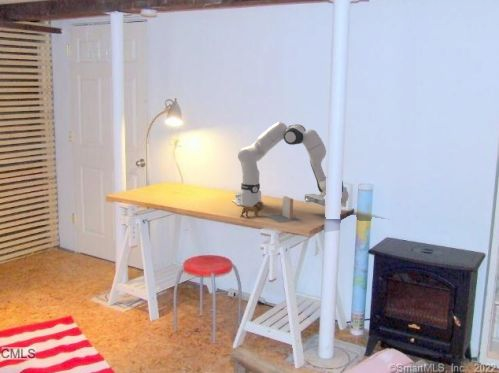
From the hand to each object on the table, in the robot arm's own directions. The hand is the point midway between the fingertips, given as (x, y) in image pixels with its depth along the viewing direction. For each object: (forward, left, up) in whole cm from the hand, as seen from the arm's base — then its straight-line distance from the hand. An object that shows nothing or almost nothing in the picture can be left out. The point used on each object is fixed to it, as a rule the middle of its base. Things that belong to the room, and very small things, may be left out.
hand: (306, 200), depth 331 cm
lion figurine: (-14, -30, -10) cm, 35 cm away
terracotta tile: (0, -13, -9) cm, 16 cm away
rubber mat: (0, -16, -10) cm, 19 cm away
